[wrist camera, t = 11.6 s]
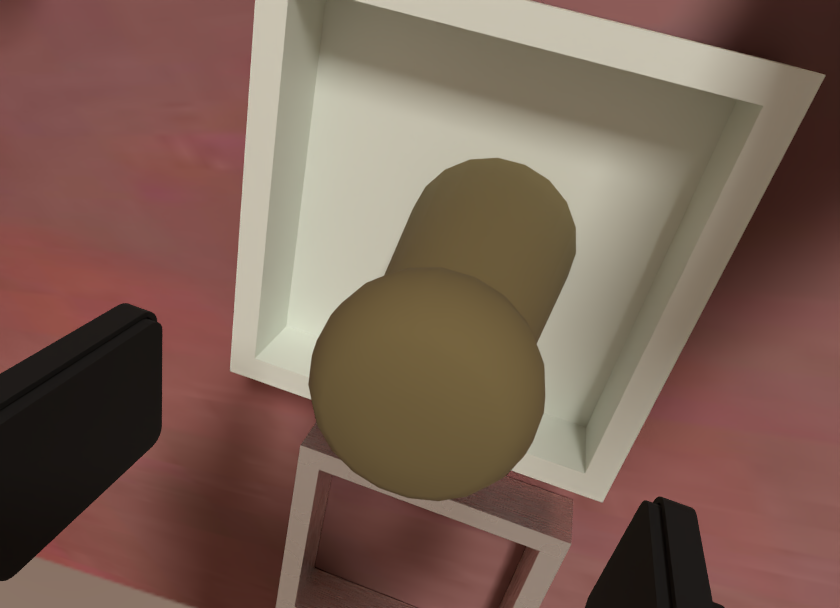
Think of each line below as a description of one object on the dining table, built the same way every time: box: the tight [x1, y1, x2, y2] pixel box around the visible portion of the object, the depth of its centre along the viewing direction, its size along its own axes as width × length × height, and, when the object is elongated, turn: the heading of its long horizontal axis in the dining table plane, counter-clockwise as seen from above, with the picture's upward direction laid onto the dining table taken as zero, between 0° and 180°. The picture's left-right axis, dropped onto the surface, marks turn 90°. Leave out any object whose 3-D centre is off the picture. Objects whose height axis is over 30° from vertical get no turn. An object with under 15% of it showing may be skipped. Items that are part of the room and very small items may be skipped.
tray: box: [230, 0, 826, 503], centre depth 20 cm, size 15×15×4 cm
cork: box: [308, 158, 576, 501], centre depth 16 cm, size 6×6×11 cm
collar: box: [276, 422, 573, 608], centre depth 29 cm, size 12×12×2 cm
